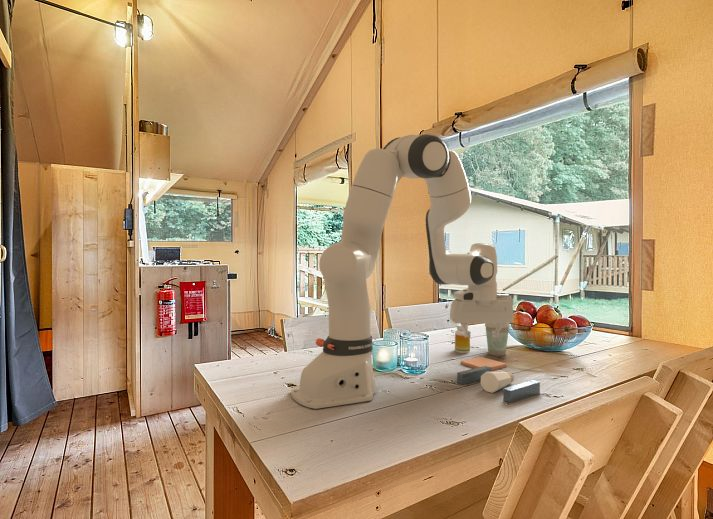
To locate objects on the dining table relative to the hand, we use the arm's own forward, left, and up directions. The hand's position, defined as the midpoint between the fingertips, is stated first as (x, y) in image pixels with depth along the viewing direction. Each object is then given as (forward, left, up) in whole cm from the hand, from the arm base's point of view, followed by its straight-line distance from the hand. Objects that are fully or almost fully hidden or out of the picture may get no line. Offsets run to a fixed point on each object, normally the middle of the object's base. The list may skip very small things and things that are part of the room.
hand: (481, 336), depth 125 cm
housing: (-14, -17, -9) cm, 23 cm away
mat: (0, -1, -9) cm, 9 cm away
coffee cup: (+16, +6, -9) cm, 20 cm away
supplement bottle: (+8, +15, -9) cm, 20 cm away
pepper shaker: (-18, -17, -7) cm, 26 cm away
